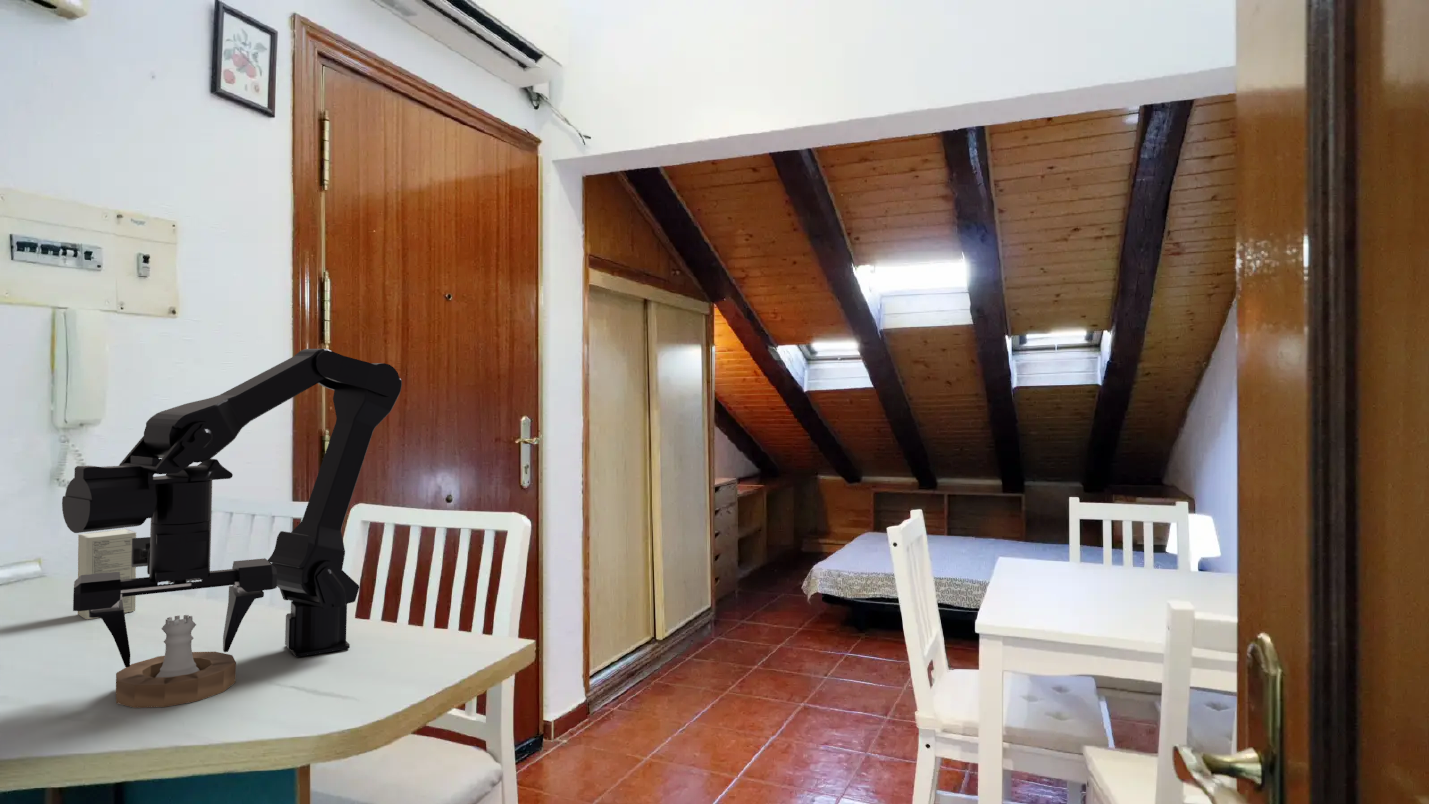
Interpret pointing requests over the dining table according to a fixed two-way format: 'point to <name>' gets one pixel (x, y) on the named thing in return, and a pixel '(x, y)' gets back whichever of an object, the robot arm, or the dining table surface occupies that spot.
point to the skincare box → (107, 558)
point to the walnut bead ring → (174, 681)
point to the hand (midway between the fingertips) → (178, 658)
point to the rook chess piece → (178, 647)
